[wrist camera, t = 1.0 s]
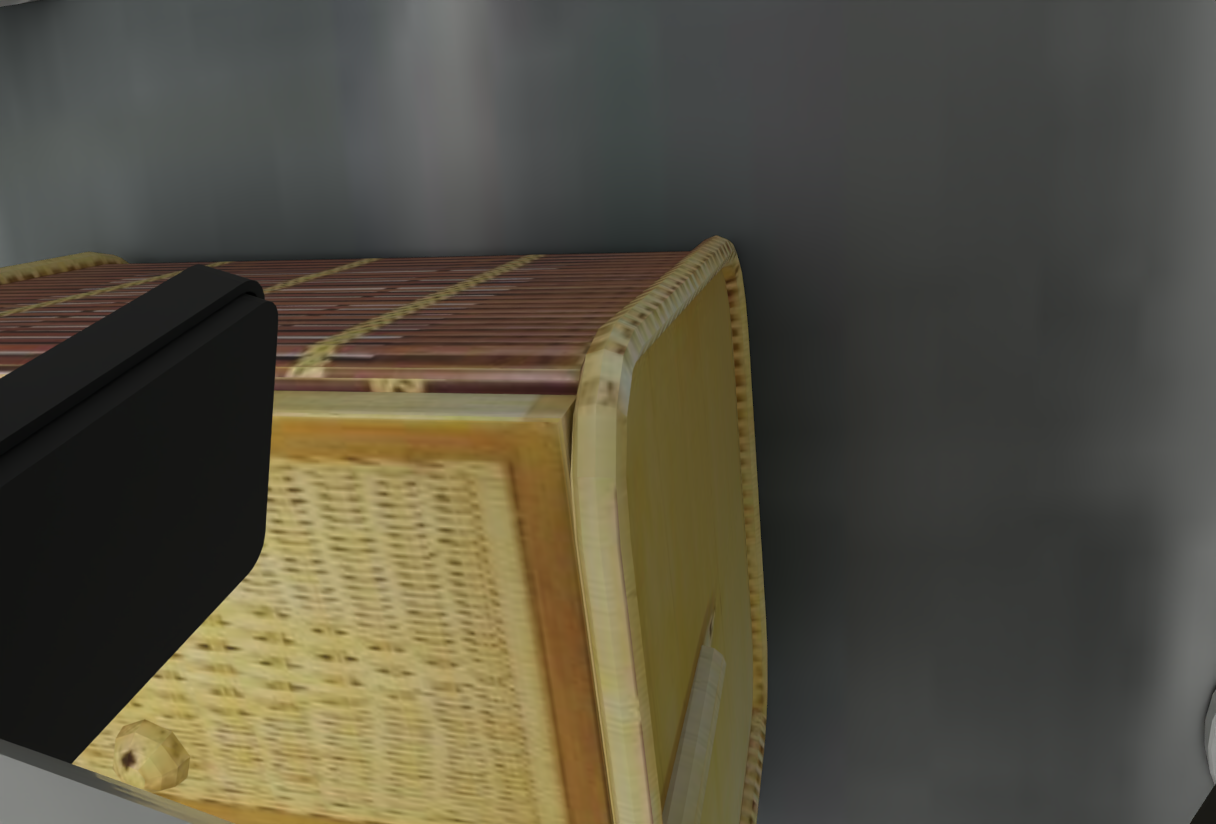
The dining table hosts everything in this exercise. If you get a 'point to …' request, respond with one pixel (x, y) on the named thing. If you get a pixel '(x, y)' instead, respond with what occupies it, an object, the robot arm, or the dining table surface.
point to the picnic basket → (470, 547)
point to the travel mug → (13, 2)
